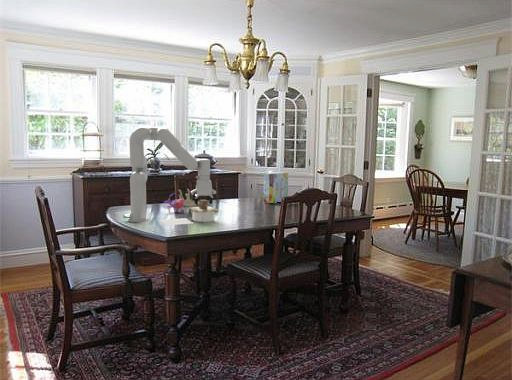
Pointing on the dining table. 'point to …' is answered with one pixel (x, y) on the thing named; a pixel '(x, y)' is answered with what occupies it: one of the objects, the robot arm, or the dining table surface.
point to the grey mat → (176, 221)
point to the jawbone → (187, 199)
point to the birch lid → (203, 207)
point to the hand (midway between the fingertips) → (203, 204)
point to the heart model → (175, 204)
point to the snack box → (275, 186)
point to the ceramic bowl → (203, 216)
